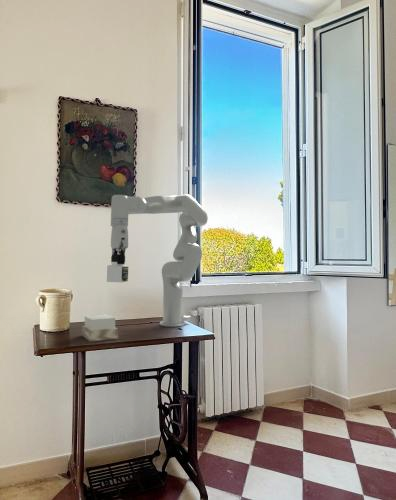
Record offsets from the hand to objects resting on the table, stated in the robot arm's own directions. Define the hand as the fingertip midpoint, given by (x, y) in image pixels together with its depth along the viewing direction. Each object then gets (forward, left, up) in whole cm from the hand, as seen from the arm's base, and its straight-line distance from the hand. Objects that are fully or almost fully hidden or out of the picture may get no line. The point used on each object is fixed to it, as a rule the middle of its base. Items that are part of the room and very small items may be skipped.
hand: (118, 263), depth 170 cm
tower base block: (+8, +2, -32) cm, 33 cm away
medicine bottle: (0, 0, -8) cm, 8 cm away
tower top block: (+8, +2, -27) cm, 29 cm away
